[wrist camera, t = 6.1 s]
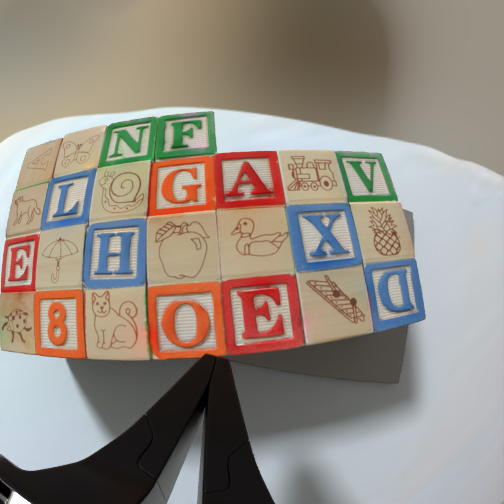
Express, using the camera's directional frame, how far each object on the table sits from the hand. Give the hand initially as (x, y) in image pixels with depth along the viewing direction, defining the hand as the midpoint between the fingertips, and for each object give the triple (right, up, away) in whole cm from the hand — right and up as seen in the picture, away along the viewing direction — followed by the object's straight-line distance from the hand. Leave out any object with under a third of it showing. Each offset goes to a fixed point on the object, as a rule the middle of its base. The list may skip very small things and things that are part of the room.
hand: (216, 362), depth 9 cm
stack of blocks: (-1, -1, +4) cm, 4 cm away
